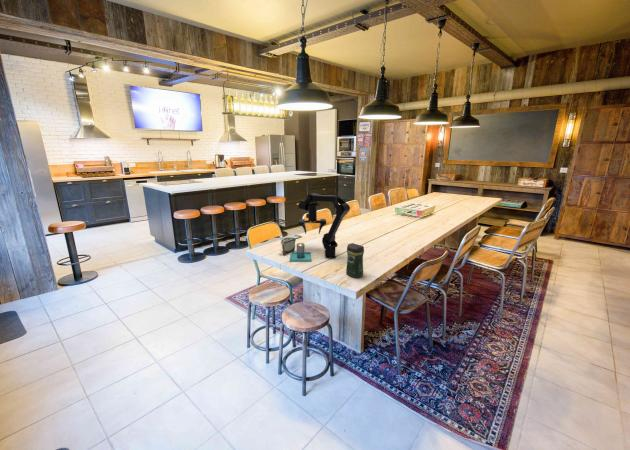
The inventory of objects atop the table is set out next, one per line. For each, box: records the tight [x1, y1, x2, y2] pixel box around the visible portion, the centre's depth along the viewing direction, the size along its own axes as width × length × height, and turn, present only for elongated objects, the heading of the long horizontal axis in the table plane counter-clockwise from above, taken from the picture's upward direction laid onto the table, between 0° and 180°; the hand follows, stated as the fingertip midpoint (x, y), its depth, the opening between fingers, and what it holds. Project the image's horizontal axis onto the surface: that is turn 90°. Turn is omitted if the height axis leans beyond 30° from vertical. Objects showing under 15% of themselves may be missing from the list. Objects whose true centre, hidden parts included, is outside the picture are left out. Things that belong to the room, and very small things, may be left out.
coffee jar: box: [345, 242, 365, 278], centre depth 168 cm, size 10×8×19 cm
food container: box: [280, 236, 297, 256], centre depth 204 cm, size 12×6×10 cm, turn 141°
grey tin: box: [296, 242, 306, 258], centre depth 195 cm, size 5×5×9 cm
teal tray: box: [289, 251, 312, 263], centre depth 196 cm, size 14×14×2 cm
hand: (312, 233), depth 204 cm, fingers open, 9 cm apart
